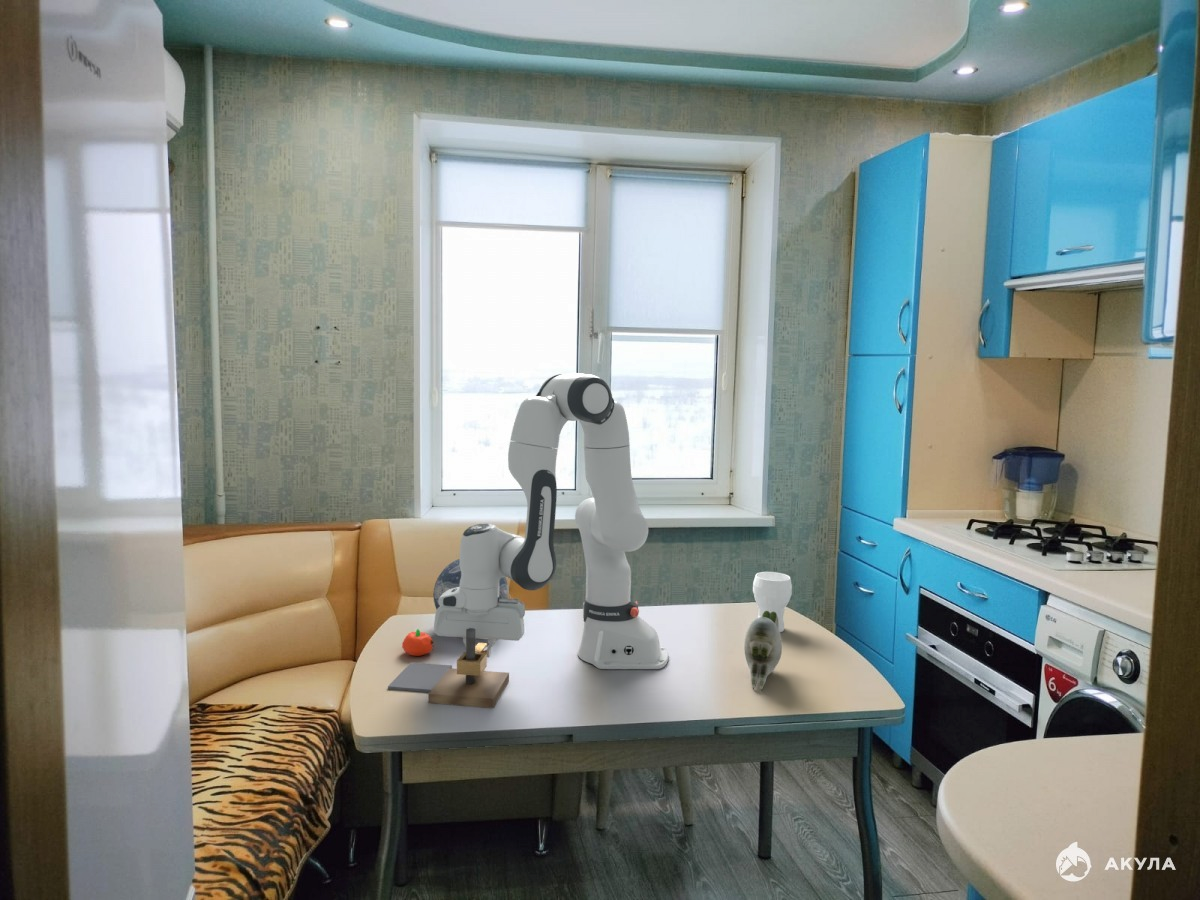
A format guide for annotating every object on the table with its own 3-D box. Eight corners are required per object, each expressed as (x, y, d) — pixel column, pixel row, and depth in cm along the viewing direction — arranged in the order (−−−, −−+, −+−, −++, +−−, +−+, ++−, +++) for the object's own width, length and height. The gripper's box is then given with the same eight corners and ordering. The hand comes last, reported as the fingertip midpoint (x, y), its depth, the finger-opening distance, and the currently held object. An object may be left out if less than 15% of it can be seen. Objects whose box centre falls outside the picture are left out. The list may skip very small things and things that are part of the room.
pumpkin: (421, 646, 195) (421, 621, 194) (438, 655, 189) (439, 629, 189) (396, 652, 190) (396, 627, 189) (413, 662, 184) (413, 636, 184)
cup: (793, 635, 211) (796, 582, 209) (754, 634, 211) (757, 580, 209) (784, 622, 221) (787, 571, 219) (747, 621, 221) (750, 570, 220)
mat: (451, 667, 182) (451, 665, 181) (431, 692, 168) (431, 689, 168) (411, 664, 183) (411, 662, 183) (387, 688, 169) (387, 686, 169)
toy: (776, 695, 172) (785, 660, 191) (779, 629, 170) (788, 601, 189) (738, 689, 175) (750, 655, 194) (740, 624, 173) (753, 597, 192)
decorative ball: (516, 621, 216) (517, 551, 214) (496, 646, 196) (497, 569, 194) (448, 615, 219) (448, 546, 217) (421, 640, 199) (422, 564, 197)
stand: (508, 681, 175) (509, 621, 173) (493, 708, 161) (494, 643, 160) (449, 676, 176) (449, 617, 175) (428, 702, 163) (428, 638, 161)
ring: (493, 656, 176) (493, 643, 176) (480, 675, 165) (480, 662, 165) (471, 654, 177) (471, 642, 177) (456, 674, 166) (456, 660, 166)
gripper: (527, 594, 174) (527, 653, 176) (440, 590, 177) (440, 648, 178) (521, 603, 168) (521, 664, 170) (431, 598, 171) (431, 658, 172)
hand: (479, 655), depth 174 cm, fingers closed on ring, 2 cm apart
